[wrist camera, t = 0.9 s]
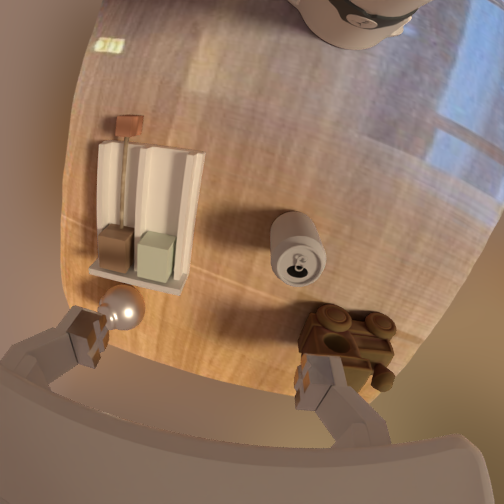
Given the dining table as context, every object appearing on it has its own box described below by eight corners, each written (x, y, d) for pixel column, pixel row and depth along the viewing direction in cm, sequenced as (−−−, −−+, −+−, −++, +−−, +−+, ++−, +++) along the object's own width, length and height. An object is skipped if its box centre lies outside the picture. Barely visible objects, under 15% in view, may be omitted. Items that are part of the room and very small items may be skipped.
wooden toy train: (289, 339, 60) (294, 404, 45) (307, 296, 55) (319, 362, 40) (372, 350, 61) (391, 408, 46) (395, 312, 56) (423, 370, 41)
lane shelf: (108, 139, 42) (86, 146, 36) (205, 151, 43) (195, 159, 37) (106, 255, 52) (89, 273, 46) (189, 273, 53) (179, 295, 47)
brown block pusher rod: (122, 114, 40) (102, 116, 34) (150, 116, 40) (132, 118, 34) (115, 249, 51) (99, 267, 45) (139, 254, 52) (125, 273, 46)
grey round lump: (113, 267, 54) (89, 296, 45) (155, 287, 55) (138, 319, 46) (106, 300, 57) (86, 330, 49) (146, 318, 59) (130, 351, 50)
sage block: (148, 230, 47) (137, 243, 43) (176, 236, 48) (168, 250, 43) (147, 261, 50) (137, 276, 46) (174, 267, 50) (166, 283, 46)
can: (265, 246, 50) (264, 285, 40) (276, 204, 47) (279, 235, 36) (307, 255, 51) (317, 296, 40) (320, 215, 47) (336, 248, 37)
